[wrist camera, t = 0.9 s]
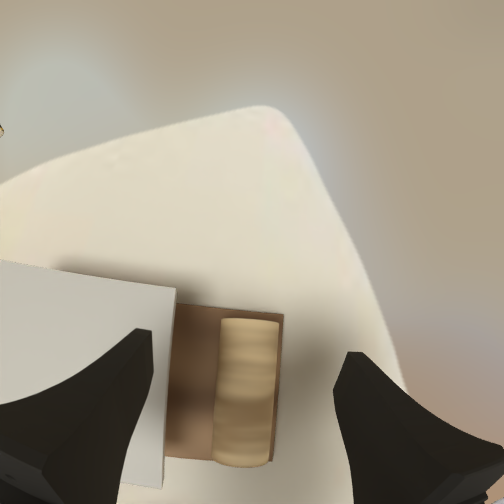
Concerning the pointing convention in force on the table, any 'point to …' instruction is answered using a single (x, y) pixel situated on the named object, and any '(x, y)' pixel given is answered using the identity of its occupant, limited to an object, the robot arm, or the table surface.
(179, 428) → the roller board
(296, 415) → the table surface
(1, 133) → the medicine bottle
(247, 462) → the roller
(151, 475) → the slab
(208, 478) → the table surface
